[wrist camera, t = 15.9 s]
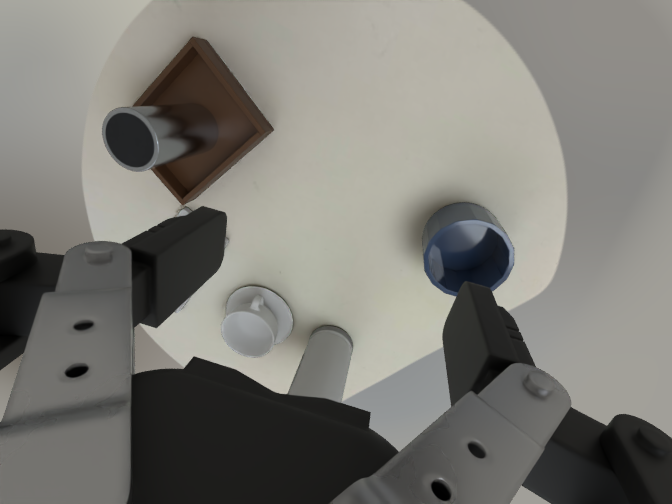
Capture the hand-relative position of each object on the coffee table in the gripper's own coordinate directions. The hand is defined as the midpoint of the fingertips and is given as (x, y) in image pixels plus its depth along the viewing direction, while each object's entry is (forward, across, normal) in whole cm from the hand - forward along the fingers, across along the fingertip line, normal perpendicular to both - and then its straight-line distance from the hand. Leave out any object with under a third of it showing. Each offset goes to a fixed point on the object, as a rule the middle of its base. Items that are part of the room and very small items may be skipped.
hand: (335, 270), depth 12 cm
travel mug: (+30, 0, +28) cm, 41 cm away
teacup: (+30, +11, +27) cm, 42 cm away
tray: (+30, +22, +3) cm, 37 cm away
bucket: (+30, -11, +8) cm, 33 cm away
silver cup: (+29, +22, +3) cm, 37 cm away
